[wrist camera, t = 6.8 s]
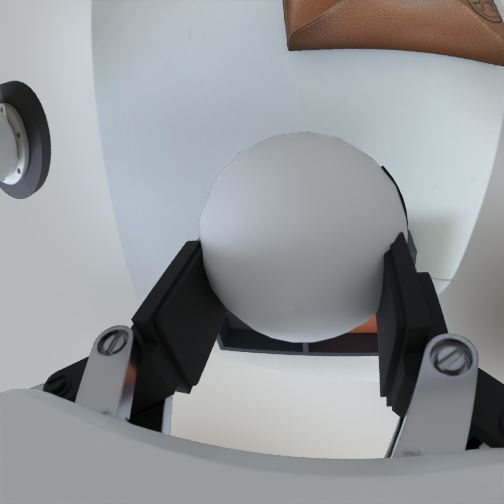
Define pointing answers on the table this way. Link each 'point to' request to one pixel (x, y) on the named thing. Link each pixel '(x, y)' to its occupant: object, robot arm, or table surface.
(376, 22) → the sunglasses case
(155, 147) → the table surface
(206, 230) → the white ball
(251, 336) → the tray
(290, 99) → the table surface
